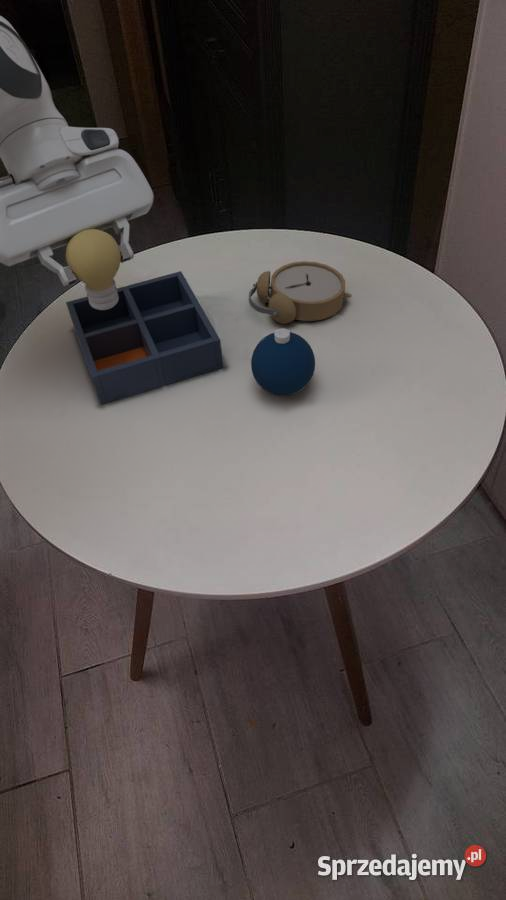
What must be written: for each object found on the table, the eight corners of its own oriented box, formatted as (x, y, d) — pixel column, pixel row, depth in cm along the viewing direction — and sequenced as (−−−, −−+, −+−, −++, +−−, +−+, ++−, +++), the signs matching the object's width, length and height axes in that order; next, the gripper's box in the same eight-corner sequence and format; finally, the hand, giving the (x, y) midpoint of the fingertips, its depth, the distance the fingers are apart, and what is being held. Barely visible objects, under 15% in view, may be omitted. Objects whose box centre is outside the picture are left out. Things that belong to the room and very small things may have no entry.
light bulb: (138, 294, 88) (124, 223, 81) (115, 323, 84) (98, 252, 77) (95, 285, 90) (77, 215, 82) (70, 314, 86) (49, 243, 78)
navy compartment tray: (100, 405, 92) (92, 377, 89) (74, 329, 104) (65, 302, 100) (223, 367, 96) (220, 339, 92) (185, 298, 107) (181, 270, 103)
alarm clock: (360, 294, 100) (267, 306, 95) (353, 322, 104) (263, 335, 99) (327, 255, 107) (238, 265, 102) (321, 283, 111) (235, 293, 106)
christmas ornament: (294, 358, 96) (293, 300, 89) (326, 393, 91) (328, 335, 84) (241, 380, 94) (236, 322, 87) (272, 417, 89) (269, 359, 82)
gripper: (-41, 180, 74) (20, 297, 76) (125, 124, 81) (178, 233, 83) (-39, 202, 80) (18, 310, 82) (116, 148, 87) (166, 249, 89)
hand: (100, 271), depth 83 cm, fingers closed on light bulb, 6 cm apart
